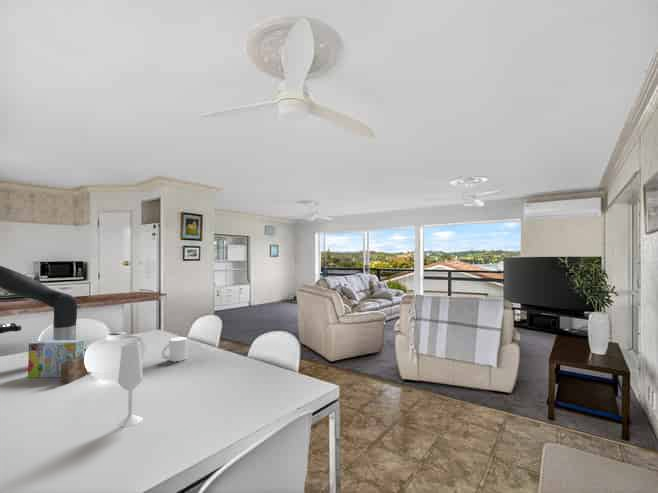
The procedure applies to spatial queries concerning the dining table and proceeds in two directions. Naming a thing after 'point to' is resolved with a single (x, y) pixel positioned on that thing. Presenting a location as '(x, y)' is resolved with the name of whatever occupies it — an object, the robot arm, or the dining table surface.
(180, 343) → the mug
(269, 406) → the dining table surface
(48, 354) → the snack box
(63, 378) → the block
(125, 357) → the champagne flute
